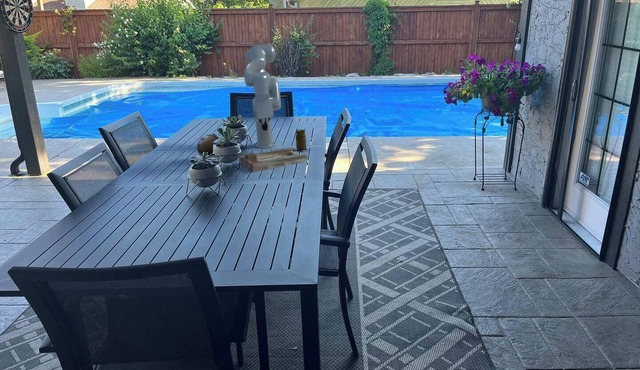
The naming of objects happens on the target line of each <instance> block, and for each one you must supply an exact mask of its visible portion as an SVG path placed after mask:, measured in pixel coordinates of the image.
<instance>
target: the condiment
mask: <svg viewBox="0 0 640 370" xmlns="http://www.w3.org/2000/svg"><path fill="white" fill-rule="evenodd" d="M295 133H296V134H295V143H296V144H295V145H296V148H294V149H293V151H296V150H295V149H297V151H296V152H300V153H301V152H305V151H303V150H306V149H307V136H306V131H305V129H296V131H295Z"/></svg>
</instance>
